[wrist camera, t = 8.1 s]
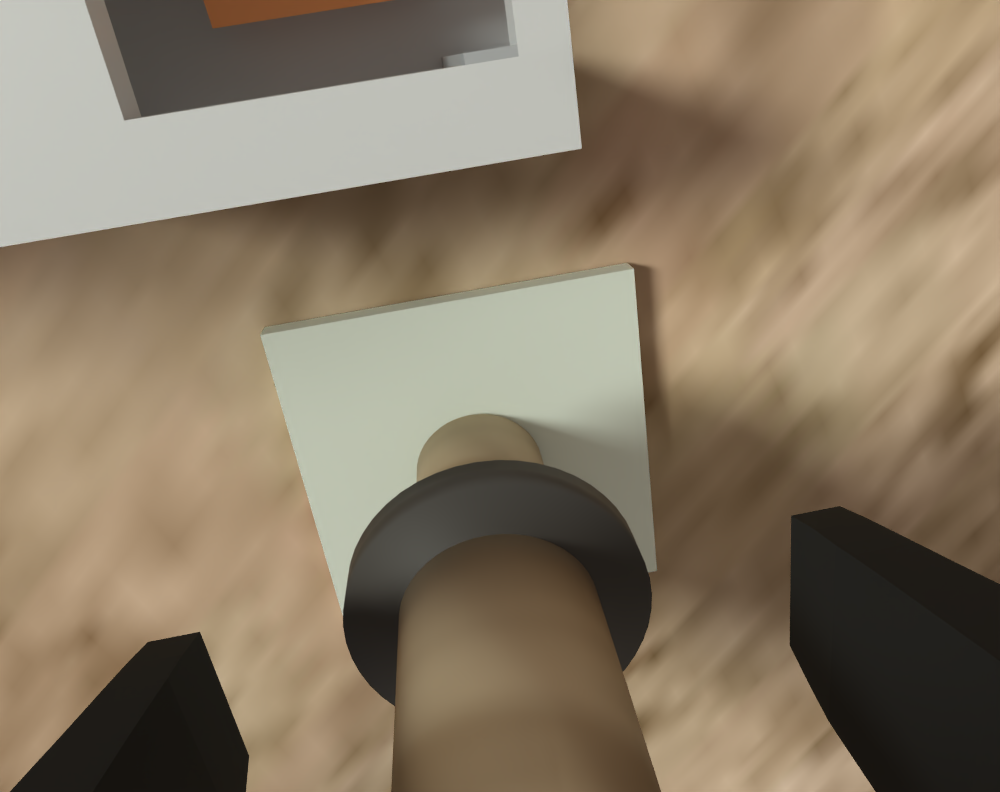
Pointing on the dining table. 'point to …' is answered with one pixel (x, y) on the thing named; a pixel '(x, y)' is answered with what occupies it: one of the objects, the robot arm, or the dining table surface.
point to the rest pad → (466, 393)
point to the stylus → (502, 621)
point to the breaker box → (263, 103)
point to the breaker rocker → (270, 9)
